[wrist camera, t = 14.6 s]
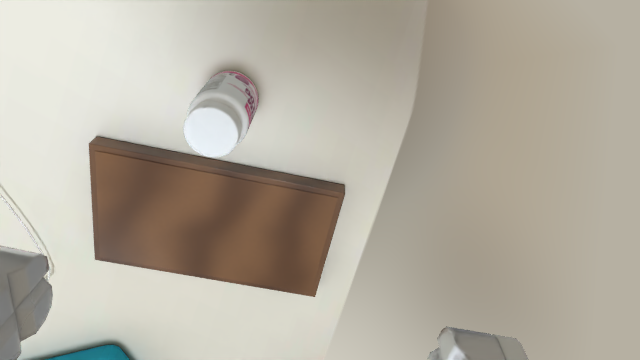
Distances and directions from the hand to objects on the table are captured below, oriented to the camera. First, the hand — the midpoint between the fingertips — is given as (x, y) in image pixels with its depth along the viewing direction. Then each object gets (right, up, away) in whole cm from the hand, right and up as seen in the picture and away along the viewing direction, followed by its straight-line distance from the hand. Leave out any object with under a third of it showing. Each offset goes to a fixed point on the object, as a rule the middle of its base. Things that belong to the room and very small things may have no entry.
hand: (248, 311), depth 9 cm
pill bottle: (-6, +10, +30) cm, 32 cm away
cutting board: (-9, -1, +36) cm, 37 cm away
